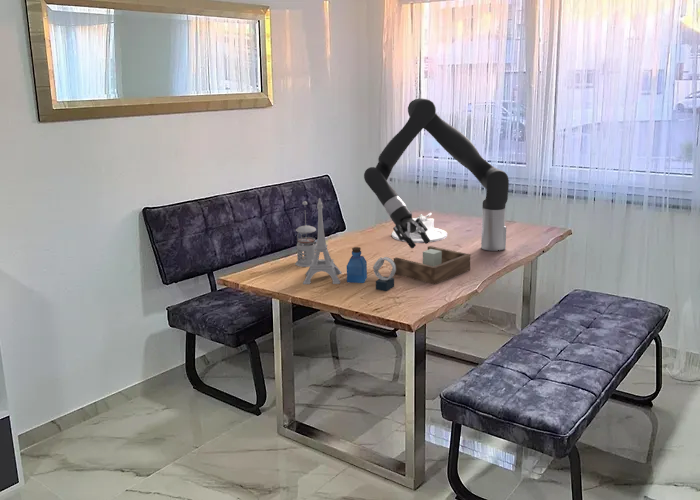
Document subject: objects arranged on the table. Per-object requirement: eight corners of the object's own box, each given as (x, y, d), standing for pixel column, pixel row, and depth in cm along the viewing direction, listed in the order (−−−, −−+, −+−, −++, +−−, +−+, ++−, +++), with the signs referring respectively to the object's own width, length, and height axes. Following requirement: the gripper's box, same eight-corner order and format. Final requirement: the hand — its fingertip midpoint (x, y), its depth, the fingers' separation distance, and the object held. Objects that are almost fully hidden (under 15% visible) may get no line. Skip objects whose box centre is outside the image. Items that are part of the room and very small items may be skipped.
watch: (378, 284, 241) (378, 254, 238) (398, 287, 237) (398, 257, 234) (370, 288, 236) (370, 258, 233) (391, 292, 232) (391, 261, 229)
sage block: (441, 271, 253) (441, 251, 251) (433, 274, 250) (433, 254, 247) (430, 269, 256) (430, 248, 254) (422, 272, 253) (422, 251, 251)
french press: (300, 268, 261) (298, 205, 254) (289, 260, 271) (286, 199, 264) (323, 264, 266) (321, 202, 259) (311, 257, 275) (309, 197, 269)
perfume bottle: (363, 283, 242) (363, 251, 239) (347, 282, 244) (346, 250, 240) (366, 277, 248) (366, 246, 245) (350, 277, 249) (349, 245, 246)
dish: (455, 233, 308) (456, 208, 305) (432, 246, 288) (432, 220, 285) (408, 227, 321) (408, 203, 318) (381, 239, 301) (381, 214, 298)
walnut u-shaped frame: (470, 269, 254) (470, 254, 252) (434, 284, 239) (434, 268, 237) (429, 260, 267) (429, 245, 265) (393, 273, 252) (393, 258, 250)
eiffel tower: (306, 273, 256) (302, 195, 247) (341, 272, 255) (339, 194, 247) (302, 284, 243) (299, 202, 235) (339, 284, 242) (337, 202, 234)
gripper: (390, 208, 251) (414, 243, 246) (414, 201, 261) (438, 235, 256) (380, 220, 256) (403, 254, 251) (404, 213, 266) (427, 246, 261)
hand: (421, 244), depth 254 cm, fingers open, 8 cm apart
